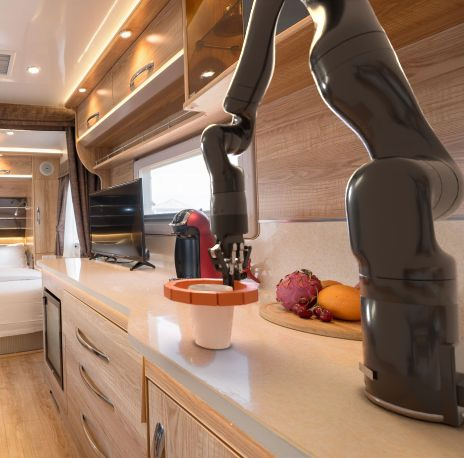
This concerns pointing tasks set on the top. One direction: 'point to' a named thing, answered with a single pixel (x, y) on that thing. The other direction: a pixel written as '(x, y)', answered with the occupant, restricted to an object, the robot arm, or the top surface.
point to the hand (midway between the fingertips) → (232, 290)
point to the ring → (211, 293)
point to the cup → (211, 320)
